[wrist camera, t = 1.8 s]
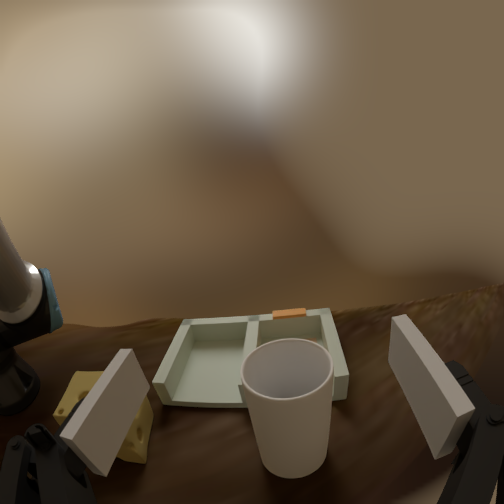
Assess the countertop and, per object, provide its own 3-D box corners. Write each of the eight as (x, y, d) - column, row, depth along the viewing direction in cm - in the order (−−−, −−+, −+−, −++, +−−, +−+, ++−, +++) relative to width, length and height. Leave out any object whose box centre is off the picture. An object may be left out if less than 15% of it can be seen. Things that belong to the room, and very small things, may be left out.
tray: (346, 398, 35) (349, 371, 33) (163, 404, 38) (150, 379, 37) (329, 330, 52) (329, 305, 50) (190, 340, 55) (182, 316, 53)
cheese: (148, 465, 27) (114, 423, 24) (84, 457, 27) (47, 415, 23) (157, 412, 37) (133, 366, 34) (100, 411, 36) (73, 367, 33)
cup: (247, 453, 29) (221, 369, 24) (293, 418, 34) (285, 328, 29) (294, 490, 23) (288, 416, 18) (340, 446, 28) (352, 357, 22)
